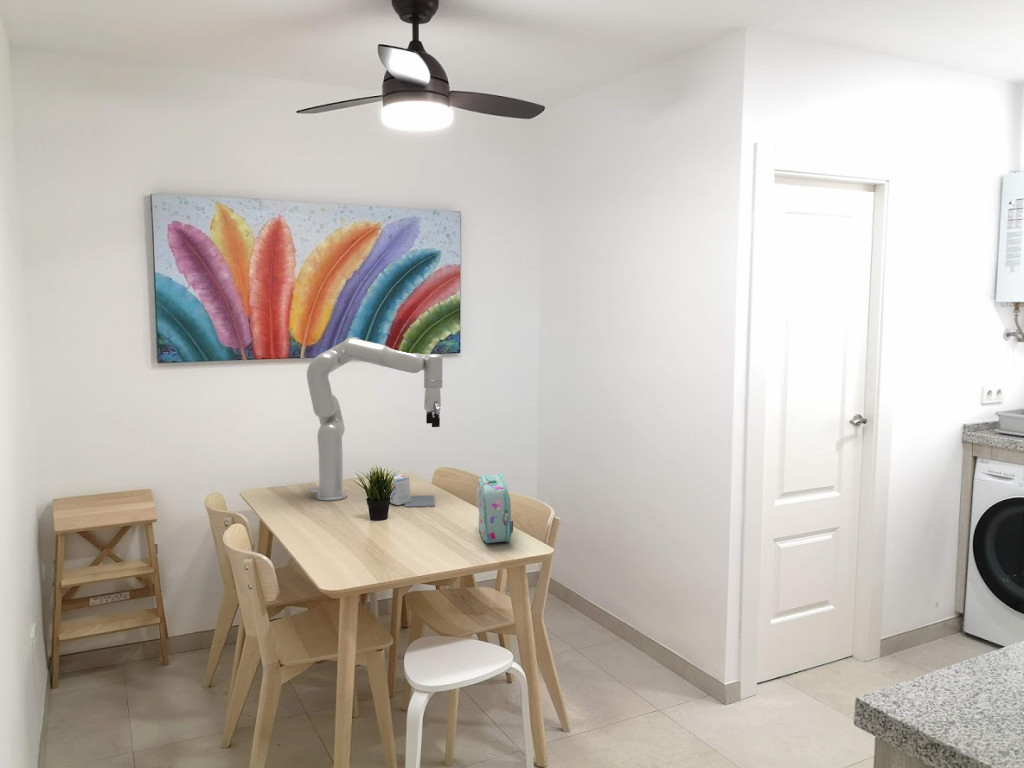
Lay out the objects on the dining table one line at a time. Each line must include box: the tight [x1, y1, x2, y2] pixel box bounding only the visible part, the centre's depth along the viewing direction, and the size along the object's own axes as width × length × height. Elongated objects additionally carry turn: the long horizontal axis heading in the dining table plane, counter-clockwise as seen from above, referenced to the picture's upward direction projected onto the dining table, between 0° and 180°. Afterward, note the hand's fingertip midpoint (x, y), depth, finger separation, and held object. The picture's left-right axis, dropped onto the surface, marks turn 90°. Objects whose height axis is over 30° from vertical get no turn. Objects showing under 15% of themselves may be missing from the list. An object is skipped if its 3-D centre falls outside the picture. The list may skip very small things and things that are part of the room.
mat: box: [404, 494, 436, 508], centre depth 317 cm, size 12×16×1 cm
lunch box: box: [477, 473, 514, 544], centre depth 271 cm, size 27×10×21 cm, turn 8°
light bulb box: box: [390, 472, 411, 506], centre depth 315 cm, size 11×7×11 cm, turn 42°
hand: (432, 425), depth 324 cm, fingers open, 9 cm apart
